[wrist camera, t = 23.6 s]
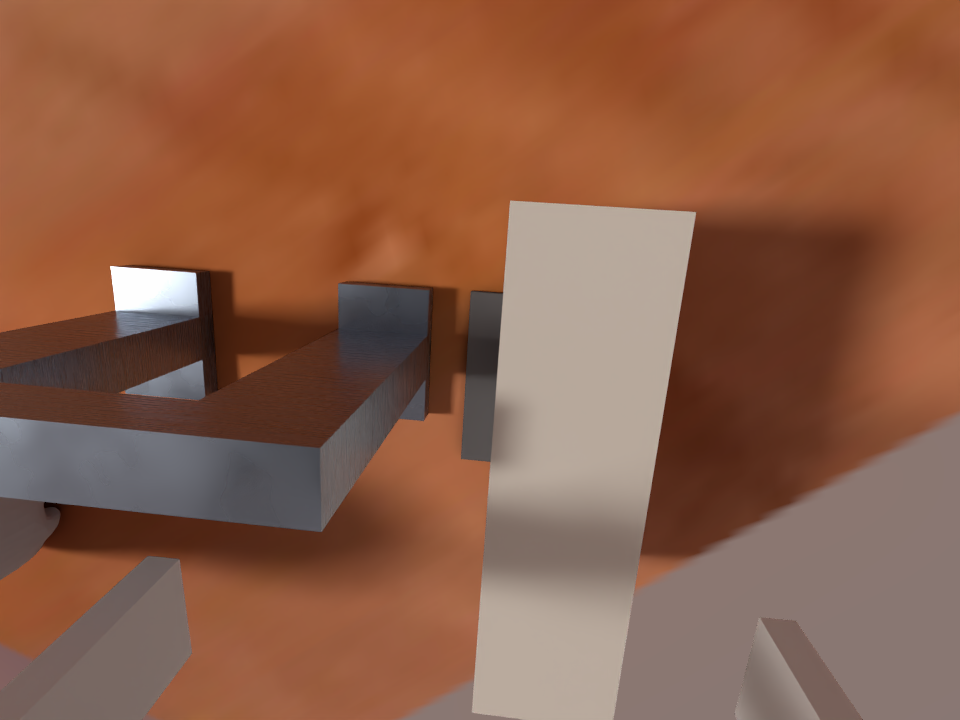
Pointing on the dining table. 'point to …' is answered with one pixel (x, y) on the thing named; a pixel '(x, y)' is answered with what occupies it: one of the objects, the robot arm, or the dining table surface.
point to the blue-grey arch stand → (206, 405)
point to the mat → (481, 374)
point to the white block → (574, 450)
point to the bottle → (23, 531)
